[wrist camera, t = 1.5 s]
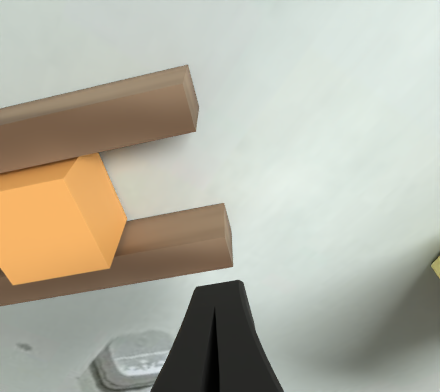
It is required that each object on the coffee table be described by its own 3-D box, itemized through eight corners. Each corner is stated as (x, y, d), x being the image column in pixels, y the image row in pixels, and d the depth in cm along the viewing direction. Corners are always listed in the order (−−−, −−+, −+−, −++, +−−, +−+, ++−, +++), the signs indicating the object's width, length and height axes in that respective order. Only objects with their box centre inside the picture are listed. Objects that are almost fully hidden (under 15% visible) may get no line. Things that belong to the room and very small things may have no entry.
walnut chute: (231, 231, 22) (233, 266, 19) (-102, 290, 24) (-139, 329, 22) (187, 64, 17) (182, 83, 14) (-226, 161, 19) (-293, 192, 17)
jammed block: (127, 218, 21) (109, 268, 18) (44, 234, 22) (13, 285, 18) (91, 138, 18) (63, 178, 15) (-1, 158, 19) (-48, 201, 16)
